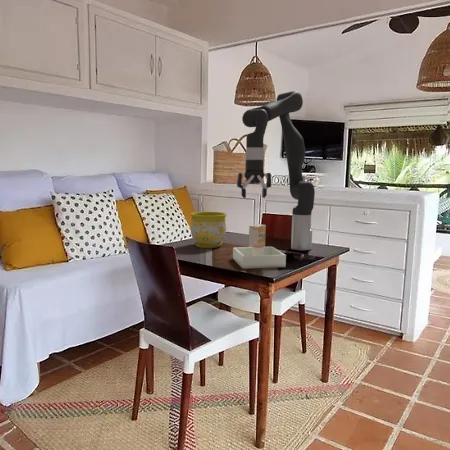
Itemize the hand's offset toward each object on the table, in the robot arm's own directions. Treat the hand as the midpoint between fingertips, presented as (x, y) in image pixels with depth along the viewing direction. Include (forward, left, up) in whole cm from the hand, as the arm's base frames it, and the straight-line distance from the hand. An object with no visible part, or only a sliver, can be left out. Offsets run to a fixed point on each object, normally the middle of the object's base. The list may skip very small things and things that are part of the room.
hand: (253, 197), depth 180 cm
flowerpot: (+14, -36, -28) cm, 48 cm away
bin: (-1, +4, -27) cm, 27 cm away
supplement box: (-6, -16, -28) cm, 33 cm away
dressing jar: (-2, +4, -26) cm, 26 cm away
